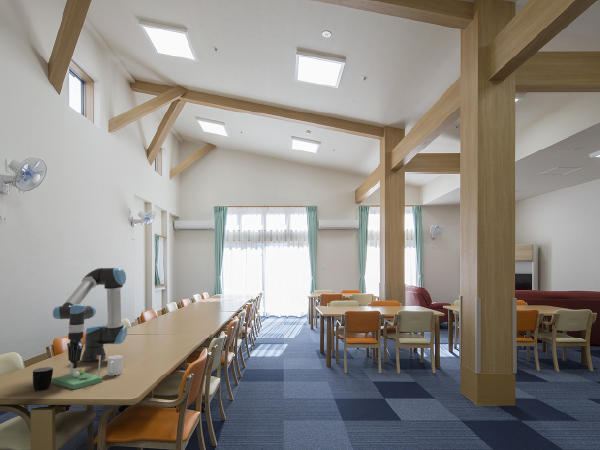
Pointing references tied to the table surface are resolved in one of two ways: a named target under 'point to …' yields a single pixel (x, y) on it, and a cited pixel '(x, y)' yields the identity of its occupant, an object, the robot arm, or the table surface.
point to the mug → (42, 378)
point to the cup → (114, 365)
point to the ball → (76, 374)
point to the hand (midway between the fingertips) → (73, 373)
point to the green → (78, 379)
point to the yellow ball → (81, 370)
